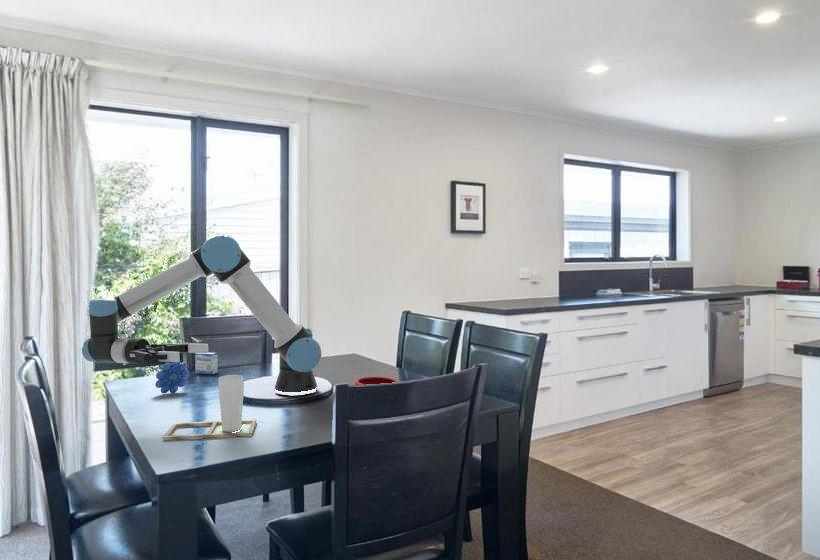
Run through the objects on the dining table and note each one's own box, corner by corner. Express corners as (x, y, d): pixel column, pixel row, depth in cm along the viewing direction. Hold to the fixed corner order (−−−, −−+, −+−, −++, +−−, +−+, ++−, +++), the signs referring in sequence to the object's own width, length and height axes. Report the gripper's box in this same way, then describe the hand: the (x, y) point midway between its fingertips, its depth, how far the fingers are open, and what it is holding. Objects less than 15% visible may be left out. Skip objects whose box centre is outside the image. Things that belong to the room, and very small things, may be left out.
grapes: (186, 388, 212) (186, 356, 211) (191, 392, 206) (191, 359, 206) (152, 393, 205) (152, 359, 204) (156, 396, 199) (156, 362, 199)
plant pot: (363, 428, 163) (363, 386, 163) (349, 416, 175) (349, 377, 175) (405, 423, 169) (405, 382, 168) (389, 412, 181) (389, 374, 180)
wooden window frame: (256, 422, 168) (256, 419, 168) (251, 436, 156) (251, 432, 156) (174, 426, 164) (174, 423, 164) (162, 440, 152) (162, 437, 152)
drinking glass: (249, 427, 163) (248, 375, 162) (234, 434, 156) (233, 380, 156) (229, 425, 165) (228, 373, 164) (213, 432, 159) (213, 378, 158)
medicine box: (195, 374, 238) (194, 353, 238) (200, 371, 243) (200, 351, 242) (212, 374, 237) (212, 354, 237) (218, 372, 242) (217, 352, 241)
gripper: (160, 355, 183) (218, 357, 178) (100, 372, 159) (165, 374, 154) (159, 332, 183) (218, 333, 177) (99, 345, 159) (164, 346, 153)
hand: (193, 352), depth 166 cm, fingers open, 13 cm apart
